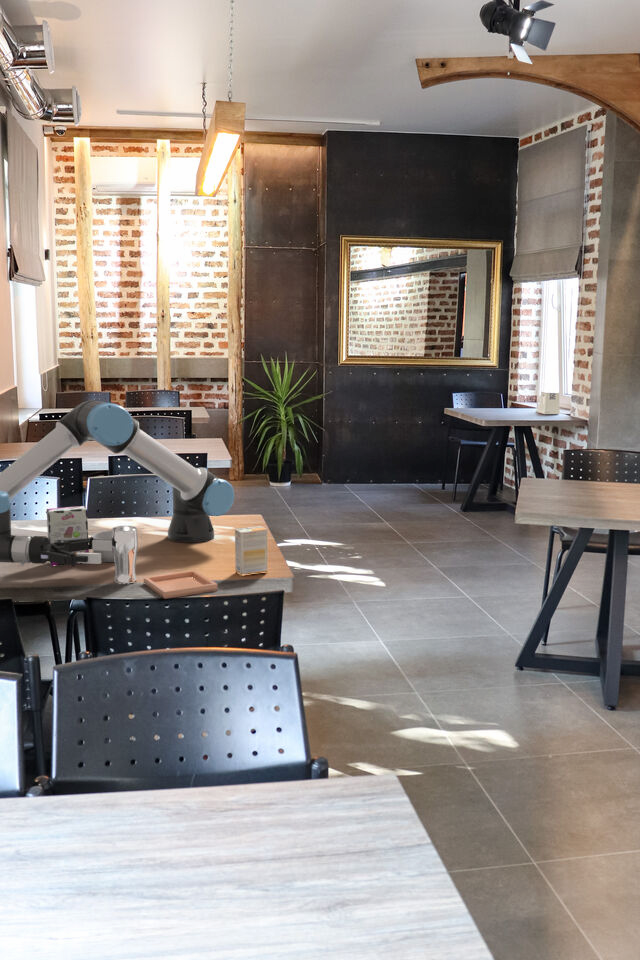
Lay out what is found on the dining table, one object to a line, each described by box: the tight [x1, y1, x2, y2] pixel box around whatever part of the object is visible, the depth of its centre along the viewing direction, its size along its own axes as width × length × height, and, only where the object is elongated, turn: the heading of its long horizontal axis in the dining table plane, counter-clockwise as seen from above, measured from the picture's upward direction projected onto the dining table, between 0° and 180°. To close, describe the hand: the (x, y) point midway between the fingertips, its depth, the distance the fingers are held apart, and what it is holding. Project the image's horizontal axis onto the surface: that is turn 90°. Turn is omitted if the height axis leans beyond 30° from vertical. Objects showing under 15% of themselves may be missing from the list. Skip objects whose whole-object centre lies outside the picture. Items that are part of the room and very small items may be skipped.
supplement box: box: [234, 525, 268, 575], centre depth 256 cm, size 8×5×13 cm, turn 117°
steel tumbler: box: [111, 525, 139, 585], centre depth 246 cm, size 7×7×15 cm
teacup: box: [91, 529, 114, 563], centre depth 270 cm, size 14×11×8 cm
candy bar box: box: [46, 505, 90, 567], centre depth 263 cm, size 11×5×16 cm, turn 114°
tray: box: [143, 569, 218, 600], centre depth 243 cm, size 15×15×2 cm
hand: (108, 552), depth 246 cm, fingers open, 13 cm apart
